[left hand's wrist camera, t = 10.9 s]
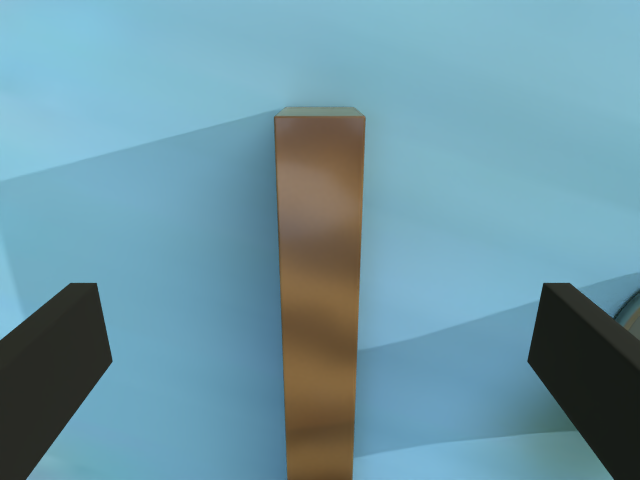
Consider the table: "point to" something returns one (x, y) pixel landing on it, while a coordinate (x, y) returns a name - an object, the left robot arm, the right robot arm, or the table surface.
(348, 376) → the bar
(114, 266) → the table surface
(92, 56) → the table surface
